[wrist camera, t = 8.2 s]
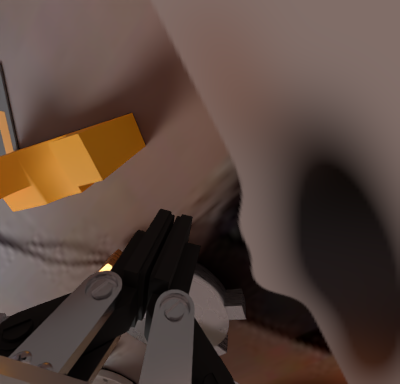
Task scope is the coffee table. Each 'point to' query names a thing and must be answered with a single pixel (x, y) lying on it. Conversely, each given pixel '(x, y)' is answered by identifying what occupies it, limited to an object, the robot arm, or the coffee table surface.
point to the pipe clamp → (67, 163)
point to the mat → (6, 122)
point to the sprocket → (203, 306)
